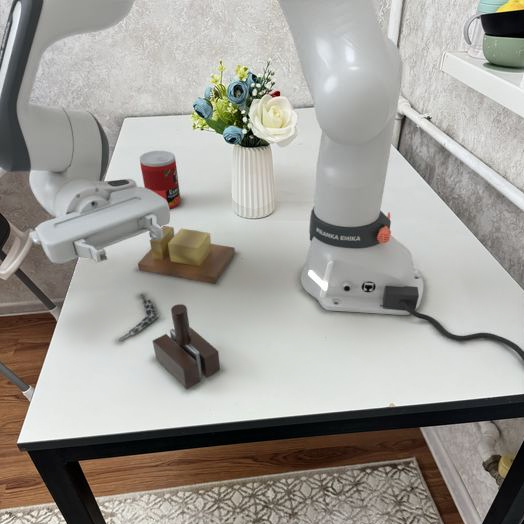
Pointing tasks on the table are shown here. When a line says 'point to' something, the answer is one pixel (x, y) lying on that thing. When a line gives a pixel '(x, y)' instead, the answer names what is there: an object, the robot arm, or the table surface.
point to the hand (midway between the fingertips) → (131, 245)
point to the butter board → (187, 256)
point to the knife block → (186, 358)
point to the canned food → (161, 175)
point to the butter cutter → (183, 332)
